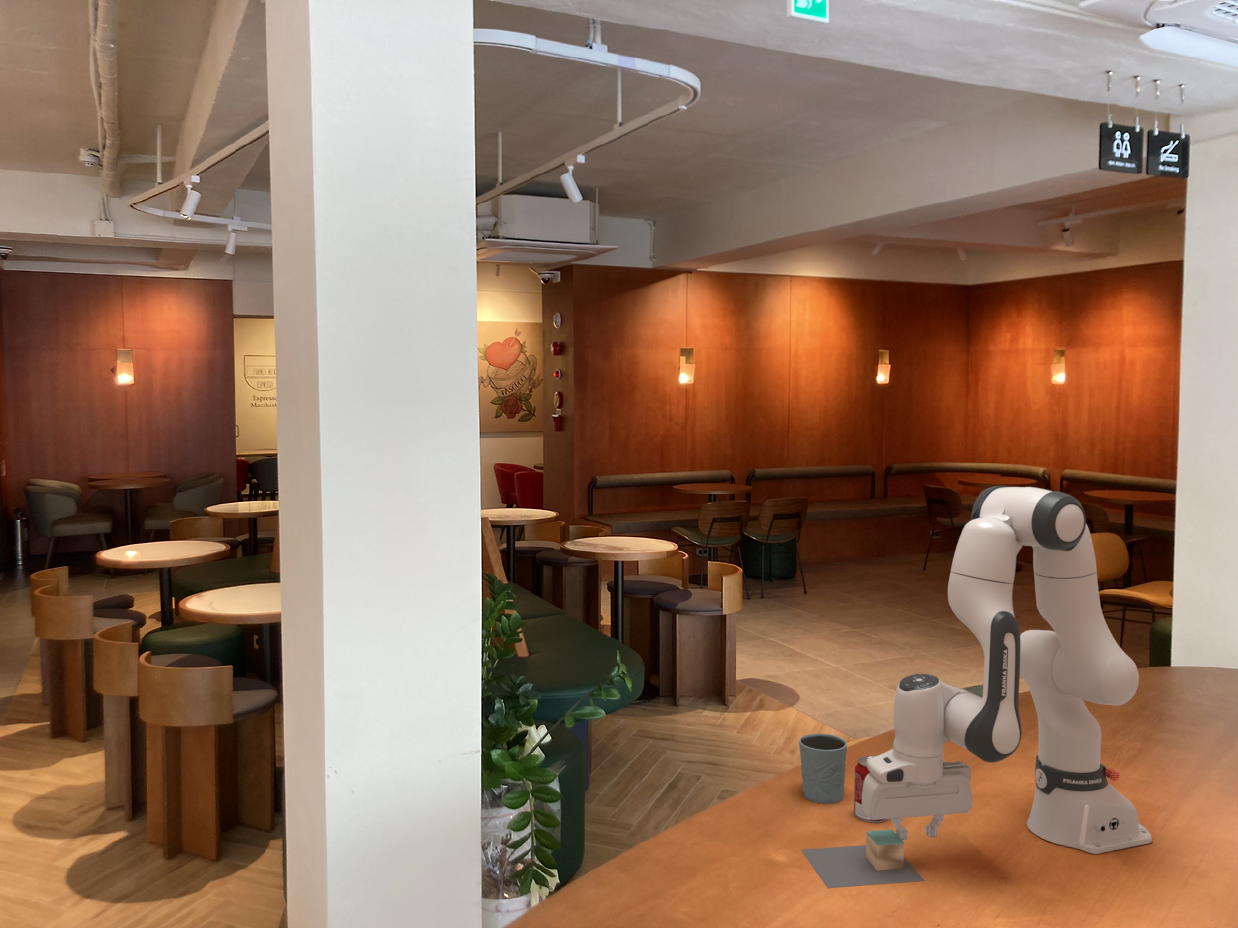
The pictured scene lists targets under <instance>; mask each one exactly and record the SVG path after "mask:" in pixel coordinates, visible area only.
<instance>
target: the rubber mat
mask: <svg viewBox="0 0 1238 928" xmlns="http://www.w3.org/2000/svg"><path fill="white" fill-rule="evenodd" d="M800 850H801V852H802V854H803V855H804V856H805V858H806V859H807V861H808V862H809V864H810V865H811V867H812V868H813V870H814V871H815V872H816V874H817V875H818V876H819V878H820V879H821V881H822V882H823V884H824V885H825V887H826V889H833V888H835V889H837V888H848V887H849V888H850V887H862V886H875V885H877V886H878V885H886V884H887V885H889V884H901V883H902V884H903V883H914V882H915V883H916V882H925V881H926V880H925V879H924V877H922V876H921V874H920V873H919V872H918V871H917V870H916V869H915V868H914V867H913V866H912V864H910V862H909V861H908V860H907V859H906V858H905V857H904V856H903V869H893V870H879V871H877V870H876V869H875V868H874V866H873V865H872V864H871V863H870V862H869V860H868V859H867V858H866V844H865V845H864V844H861V845H849V846H848V845H847V846H834V847H819V848H818V847H817V848H806V849H805V848H804V849H800Z"/></svg>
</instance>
